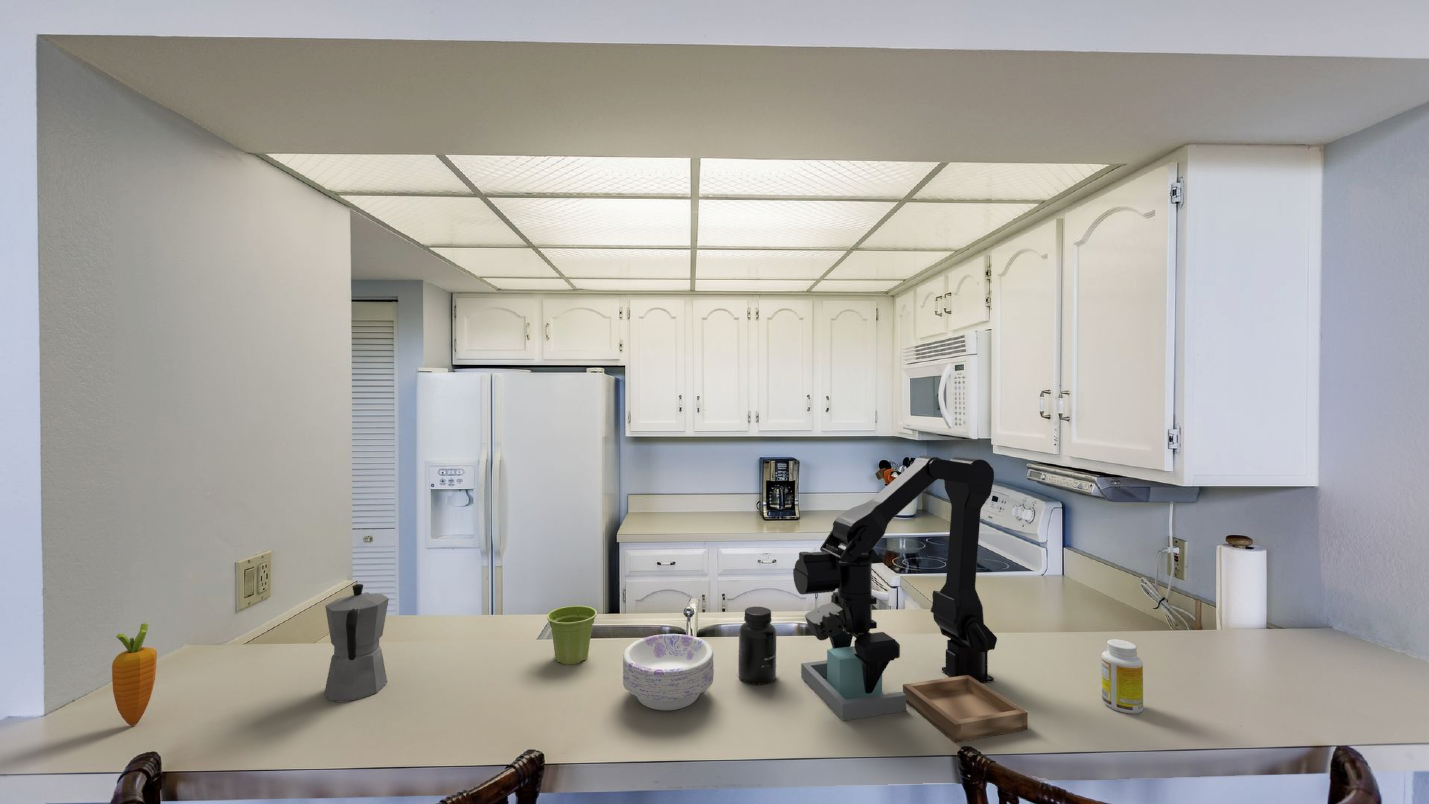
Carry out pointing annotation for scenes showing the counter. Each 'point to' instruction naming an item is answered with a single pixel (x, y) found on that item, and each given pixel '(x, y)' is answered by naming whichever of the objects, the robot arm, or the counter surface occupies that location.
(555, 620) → the plant pot
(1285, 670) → the counter surface
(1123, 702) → the supplement bottle
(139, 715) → the carrot
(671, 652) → the paper bowls
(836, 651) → the tall aqua prism
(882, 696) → the bay
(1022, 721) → the tray
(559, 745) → the counter surface
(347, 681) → the coffeepot
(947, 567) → the robot arm
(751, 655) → the supplement bottle
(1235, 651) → the counter surface
